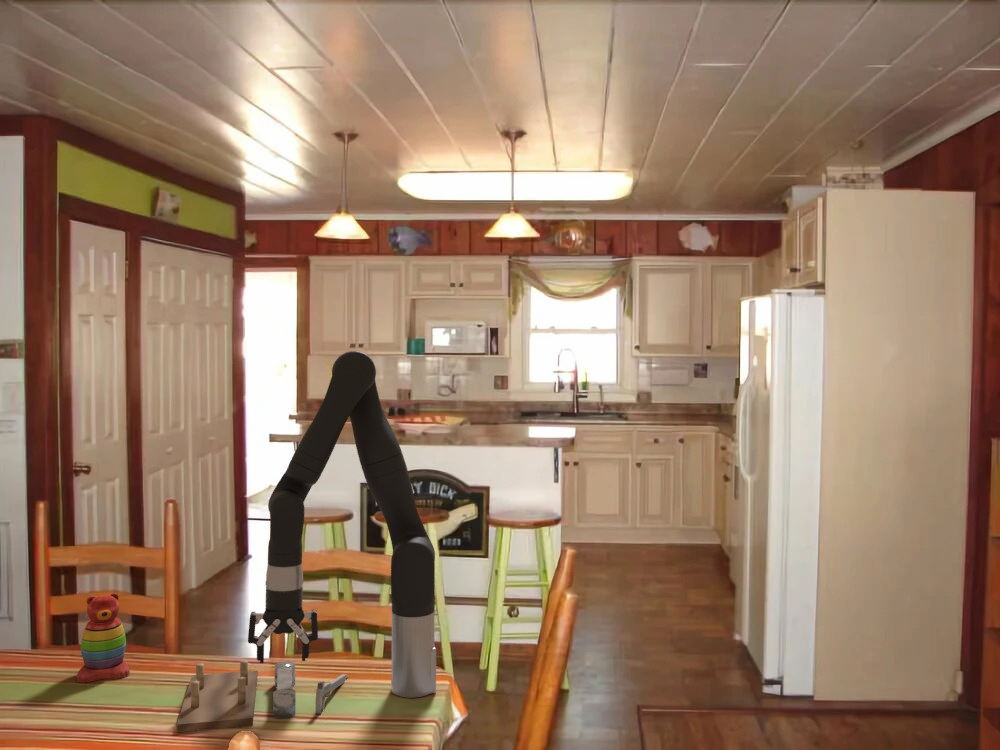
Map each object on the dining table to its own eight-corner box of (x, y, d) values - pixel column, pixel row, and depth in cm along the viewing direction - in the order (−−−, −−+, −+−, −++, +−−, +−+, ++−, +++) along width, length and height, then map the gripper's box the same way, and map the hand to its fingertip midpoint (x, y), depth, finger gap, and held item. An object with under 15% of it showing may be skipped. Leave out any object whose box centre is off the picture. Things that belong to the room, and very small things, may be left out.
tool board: (257, 677, 196) (257, 648, 196) (252, 725, 171) (252, 692, 171) (191, 682, 193) (191, 652, 193) (177, 732, 168) (176, 698, 168)
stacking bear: (75, 684, 191) (75, 603, 191) (78, 668, 201) (78, 591, 200) (129, 677, 196) (129, 598, 195) (129, 662, 205) (129, 587, 204)
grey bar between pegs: (295, 680, 195) (295, 660, 194) (295, 718, 175) (295, 695, 175) (274, 682, 194) (274, 662, 193) (272, 720, 174) (272, 697, 174)
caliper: (320, 716, 176) (320, 685, 176) (315, 715, 176) (315, 685, 176) (348, 678, 197) (348, 651, 196) (343, 678, 197) (343, 650, 197)
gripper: (318, 579, 189) (316, 653, 189) (250, 581, 186) (248, 656, 186) (319, 588, 182) (317, 665, 182) (248, 590, 178) (246, 669, 179)
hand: (282, 661), depth 184 cm, fingers open, 8 cm apart
